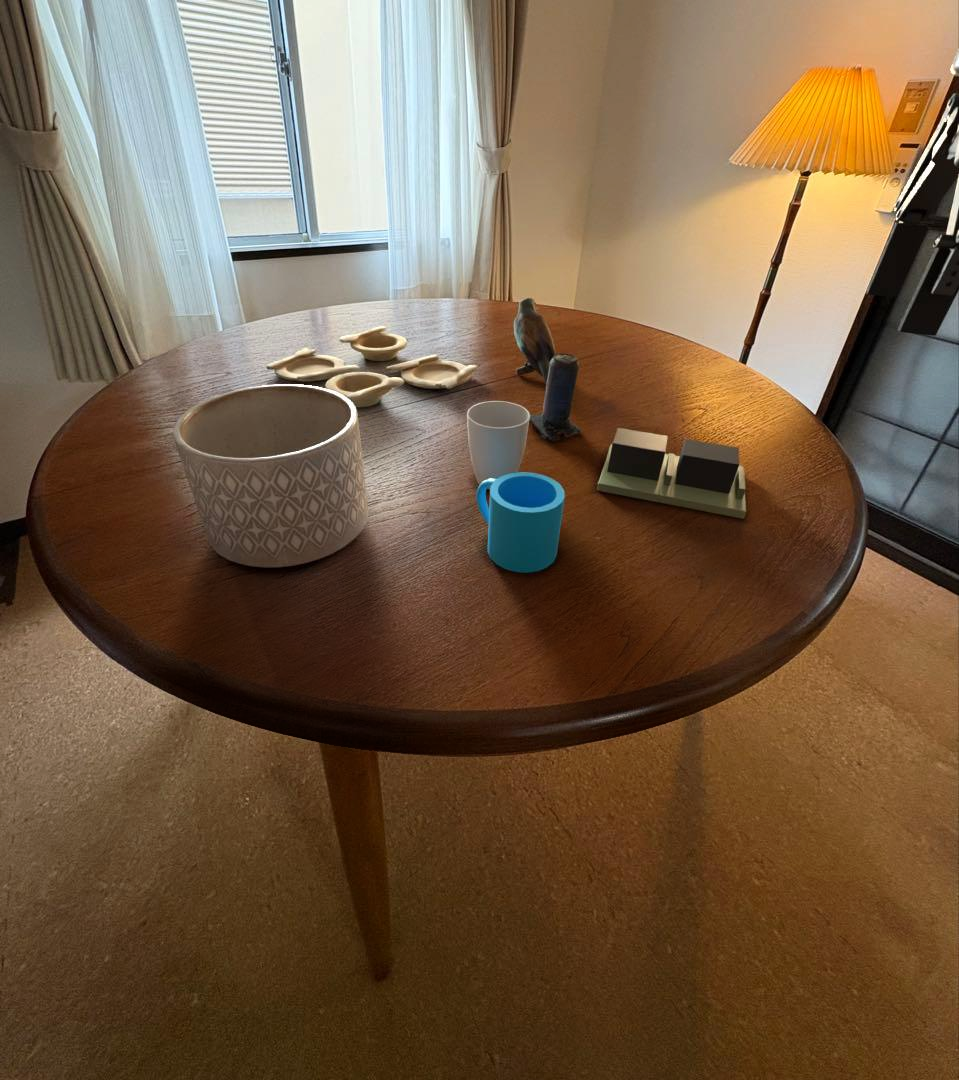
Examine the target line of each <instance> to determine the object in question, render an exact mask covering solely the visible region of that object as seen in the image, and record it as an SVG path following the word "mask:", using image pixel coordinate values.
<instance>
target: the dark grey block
mask: <svg viewBox="0 0 959 1080" xmlns="http://www.w3.org/2000/svg"><path fill="white" fill-rule="evenodd" d="M739 452H740V451H739V447H737V446H732V445H726V444H719V443H714V442H707V441H701V440H696V439H695V440H694V439H689V438H684V440H683V444H682V447H681V451H680V455H679V456H680V458H679V462H678V465H677V472H676V481H675V484H678V485H683V486H689V487H694V488H699V489H705V490H710V491H715V492H721V493H726V494H729V493H730V490H731V487H732V484H733V482H734V479H735V476H736V473H737V470H738V467H739V465H740V453H739Z"/></svg>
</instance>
